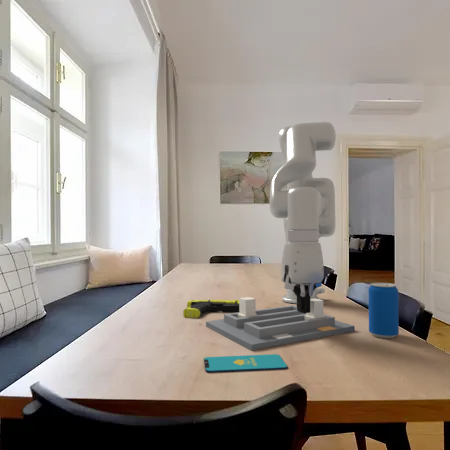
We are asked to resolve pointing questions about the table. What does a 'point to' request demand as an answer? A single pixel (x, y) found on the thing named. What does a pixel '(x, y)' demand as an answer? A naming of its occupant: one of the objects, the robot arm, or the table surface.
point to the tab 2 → (315, 309)
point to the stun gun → (209, 307)
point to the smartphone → (244, 363)
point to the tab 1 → (247, 307)
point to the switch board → (276, 327)
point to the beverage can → (383, 310)
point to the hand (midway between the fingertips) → (303, 311)
